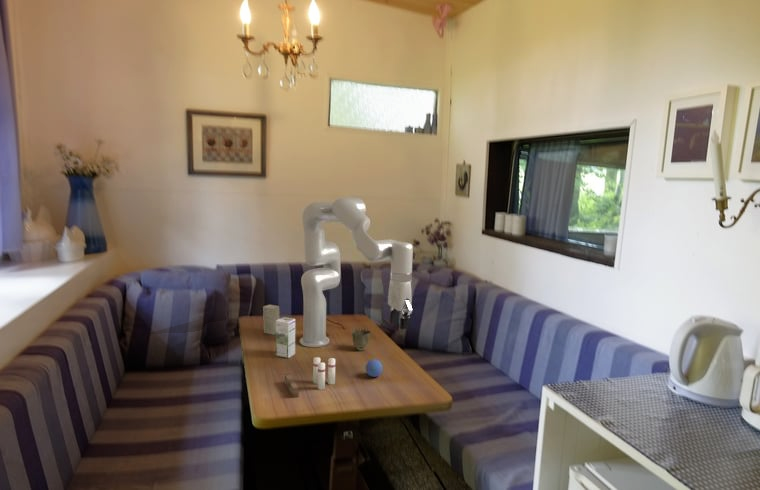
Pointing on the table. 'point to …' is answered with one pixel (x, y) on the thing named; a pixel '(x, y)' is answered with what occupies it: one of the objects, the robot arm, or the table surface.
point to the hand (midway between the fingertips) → (399, 325)
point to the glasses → (334, 323)
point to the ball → (374, 368)
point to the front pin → (331, 371)
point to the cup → (361, 338)
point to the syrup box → (285, 337)
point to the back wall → (291, 385)
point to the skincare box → (270, 318)
